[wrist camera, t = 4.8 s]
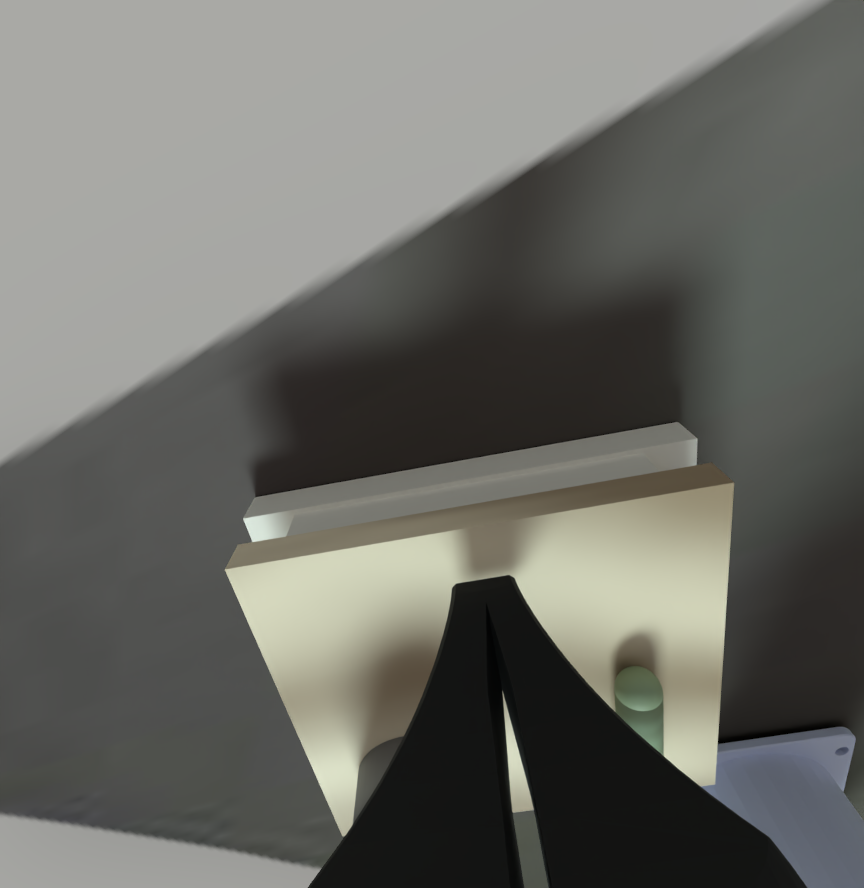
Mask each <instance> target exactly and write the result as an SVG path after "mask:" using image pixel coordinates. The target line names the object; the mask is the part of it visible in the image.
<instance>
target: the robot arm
mask: <svg viewBox="0 0 864 888" xmlns="http://www.w3.org/2000/svg"><path fill="white" fill-rule="evenodd" d="M502 690H503V691H502ZM503 694H504V698H505V702H506V705H507V709H508V713H509V717H510V720H511V724H512V728H513V732H514V735H515V739H516V743H517V747H518V750H519V754H520V758H521V761H522V765H523V769H524V773H525V776H526V780H527V784H528V788H529V791H530V795H531V800H532V804H533V808H534V813H535V817H536V823H537V828H538V833H539V839H540V844H541V849H542V855H543V860H544V865H545V871H546V876H547V881H548V887H549V888H864V820H863V819H862V818H861V816H860V815H859V813H858V812H857V811H856V809H855V808H854V806H853V805H852V804H851V802H850V801H849V799H848V798H847V797H846V795H845V794H844V793H843V792H844V788H845V783H846V779H847V775H848V771H849V766H850V762H851V758H852V754H853V750H854V745H855V741H856V738H855V736H854V735H853V734H852V733H851V731H850V730H849V729H848V728H845V727H833V728H826V729H819V730H812V731H805V732H798V733H791V734H784V735H777V736H770V737H763V738H756V739H749V740H742V741H735V742H728V743H721V744H718V747H717V763H716V779H715V785H708V786H699V785H698V784H697V783H696V782H694V781H693V780H692V779H691V778H689V777H688V776H687V775H686V774H684V773H683V772H682V771H680V770H679V769H678V768H677V767H676V766H675V765H673V764H672V763H671V762H670V761H669V760H668V759H666V758H665V757H664V756H663V755H662V754H661V753H660V752H658V751H657V750H656V749H655V748H654V747H653V746H652V745H650V744H649V743H648V742H647V741H646V740H645V739H644V738H642V737H641V736H640V735H639V734H638V733H637V732H636V731H634V730H633V729H632V728H631V727H630V726H629V725H628V724H627V723H626V722H625V721H624V720H623V719H622V718H621V717H620V716H619V715H618V714H617V713H616V712H615V711H614V710H613V709H612V708H611V707H610V706H609V705H608V704H607V703H606V702H605V701H604V700H603V699H602V698H601V697H600V696H599V695H598V694H597V693H596V692H595V691H594V689H593V688H592V687H591V686H590V685H589V684H588V683H587V682H586V681H585V679H584V678H583V677H582V676H581V675H580V674H579V673H578V671H577V670H576V669H575V668H574V667H573V665H572V664H571V663H570V662H569V661H568V660H567V658H566V657H565V656H564V655H563V653H562V652H561V651H560V649H559V648H558V647H557V646H556V644H555V643H554V642H553V640H552V639H551V637H550V636H549V635H548V633H547V632H546V631H545V629H544V628H543V627H542V625H541V624H540V622H539V621H538V619H537V618H536V616H535V615H534V613H533V612H532V610H531V609H530V607H529V605H528V604H527V602H526V600H525V599H524V597H523V595H522V593H521V591H520V589H519V587H518V585H517V583H516V580H515V578H513V577H512V576H510V575H505V576H499V577H493V578H487V579H481V580H475V581H469V582H463V583H457V584H455V585H454V586H453V588H452V593H451V601H450V607H449V612H448V617H447V621H446V625H445V629H444V633H443V636H442V640H441V643H440V646H439V650H438V653H437V656H436V659H435V662H434V665H433V668H432V671H431V673H430V676H429V679H428V681H427V684H426V687H425V689H424V692H423V695H422V697H421V699H420V702H419V704H418V707H417V709H416V711H415V713H414V716H413V718H412V720H411V722H410V724H409V726H408V729H407V731H406V733H405V735H404V737H403V739H402V741H401V743H400V745H399V747H398V748H397V750H396V752H395V754H394V756H393V758H392V760H391V762H390V764H389V766H388V767H387V769H386V771H385V773H384V775H383V776H382V778H381V780H380V782H379V783H378V785H377V787H376V788H375V790H374V792H373V793H372V795H371V796H370V798H369V799H368V801H367V803H366V804H365V806H364V807H363V809H362V811H361V812H360V814H359V815H358V817H357V818H356V820H355V822H354V823H353V825H352V826H351V828H350V829H349V831H348V832H347V834H346V835H345V837H344V838H343V840H342V841H341V843H340V844H339V846H338V847H337V848H336V850H335V851H334V852H333V854H332V855H331V857H330V858H329V859H328V861H327V862H326V863H325V865H324V866H323V867H322V869H321V870H320V872H319V873H318V874H317V876H316V877H315V879H314V880H313V881H312V883H311V884H310V885H309V887H308V888H524V884H523V877H522V871H521V865H520V858H519V852H518V846H517V839H516V833H515V826H514V820H513V812H512V803H511V793H510V781H509V768H508V755H507V742H506V729H505V716H504V704H503Z"/></svg>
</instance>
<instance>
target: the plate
mask: <svg viewBox="0 0 864 888" xmlns="http://www.w3.org/2000/svg"><path fill="white" fill-rule="evenodd" d="M733 493H734V482H733V481H732V480H731V479H730V478H728V477H727V476H726V475H725V474H724V473H723V472H722V471H721V470H719V469H718V468H717V467H716V466H715V465H714V464H713V463H706V464H701V465H695V466H689V467H683V468H678V469H672V470H666V471H660V472H655V473H649V474H643V475H637V476H631V477H626V478H620V479H614V480H608V481H603V482H597V483H591V484H585V485H580V486H574V487H568V488H562V489H557V490H551V491H545V492H539V493H533V494H528V495H522V496H516V497H510V498H505V499H499V500H493V501H487V502H482V503H476V504H470V505H464V506H459V507H453V508H447V509H441V510H436V511H430V512H424V513H418V514H412V515H407V516H401V517H395V518H389V519H384V520H378V521H372V522H366V523H361V524H355V525H349V526H343V527H338V528H332V529H326V530H320V531H314V532H309V533H303V534H297V535H291V536H286V537H280V538H274V539H268V540H263V541H257V542H251V543H245V544H240V545H238V546H237V548H236V549H235V551H234V553H233V555H232V557H231V559H230V561H229V563H228V565H227V566H226V568H225V571H226V573H227V576H228V578H229V580H230V582H231V585H232V587H233V589H234V591H235V594H236V596H237V598H238V600H239V603H240V605H241V607H242V610H243V612H244V614H245V616H246V619H247V621H248V623H249V625H250V628H251V630H252V632H253V634H254V637H255V639H256V641H257V643H258V646H259V648H260V650H261V653H262V655H263V657H264V659H265V662H266V664H267V666H268V668H269V671H270V673H271V675H272V677H273V680H274V682H275V684H276V687H277V689H278V691H279V693H280V696H281V698H282V700H283V702H284V705H285V707H286V709H287V711H288V714H289V716H290V718H291V720H292V723H293V725H294V727H295V730H296V732H297V734H298V736H299V739H300V741H301V743H302V745H303V748H304V750H305V752H306V754H307V757H308V759H309V761H310V763H311V766H312V768H313V770H314V773H315V775H316V777H317V779H318V782H319V784H320V786H321V788H322V791H323V793H324V795H325V797H326V800H327V802H328V804H329V807H330V809H331V811H332V813H333V816H334V818H335V820H336V822H337V825H338V827H339V829H340V831H341V834H342V836H345V835H346V834H347V832H348V831H349V829H350V828H351V826H352V825H353V823H354V822H355V820H356V818H357V817H358V815H359V814H360V812H361V811H362V809H363V807H364V806H365V804H366V803H367V801H368V799H369V798H370V796H371V795H372V793H373V792H374V790H375V788H376V787H377V785H378V783H379V782H380V780H381V778H382V776H383V775H384V773H385V771H386V769H387V767H388V766H389V764H390V762H391V760H392V758H393V756H394V754H395V752H396V750H397V748H398V747H399V745H400V743H401V741H402V739H403V737H404V735H405V733H406V731H407V729H408V726H409V724H410V722H411V720H412V718H413V716H414V713H415V711H416V709H417V707H418V704H419V702H420V699H421V697H422V695H423V692H424V689H425V687H426V684H427V681H428V679H429V676H430V673H431V671H432V668H433V665H434V662H435V659H436V656H437V653H438V650H439V646H440V643H441V640H442V636H443V633H444V629H445V625H446V621H447V617H448V612H449V607H450V601H451V593H452V588H453V586H454V585H455V584H457V583H463V582H469V581H475V580H481V579H487V578H493V577H499V576H505V575H510V576H512V577H513V578H515V580H516V583H517V585H518V587H519V589H520V591H521V593H522V595H523V597H524V599H525V600H526V602H527V604H528V605H529V607H530V609H531V610H532V612H533V613H534V615H535V616H536V618H537V619H538V621H539V622H540V624H541V625H542V627H543V628H544V629H545V631H546V632H547V633H548V635H549V636H550V637H551V639H552V640H553V642H554V643H555V644H556V646H557V647H558V648H559V649H560V651H561V652H562V653H563V655H564V656H565V657H566V658H567V660H568V661H569V662H570V663H571V664H572V665H573V667H574V668H575V669H576V670H577V671H578V673H579V674H580V675H581V676H582V677H583V678H584V679H585V681H586V682H587V683H588V684H589V685H590V686H591V687H592V688H593V689H594V691H595V692H596V693H597V694H598V695H599V696H600V697H601V698H602V699H603V700H604V701H605V702H606V703H607V704H608V705H609V706H610V707H611V708H612V709H613V710H614V711H615V712H616V713H617V714H618V715H619V716H620V717H621V718H622V719H623V720H624V721H625V722H626V723H627V724H628V725H629V726H630V727H631V728H632V729H633V730H634V731H636V732H637V733H638V734H639V735H640V736H641V737H642V738H644V739H645V740H646V741H647V742H648V743H649V744H650V745H652V746H653V747H654V748H655V749H656V750H657V751H658V752H660V753H661V754H662V755H663V756H664V757H665V758H666V759H668V760H669V761H670V762H671V763H672V764H673V765H675V766H676V767H677V768H678V769H679V770H680V771H682V772H683V773H684V774H686V775H687V776H688V777H689V778H691V779H692V780H693V781H694V782H696V783H697V784H698V785H699V786H708V785H715V779H716V763H717V747H718V731H719V715H720V699H721V683H722V667H723V651H724V636H725V620H726V604H727V588H728V572H729V556H730V540H731V524H732V508H733ZM502 691H503V690H502ZM503 704H504V716H505V729H506V742H507V755H508V768H509V781H510V793H511V803H512V812H513V813H514V812H521V811H528V810H534V808H533V804H532V800H531V795H530V791H529V788H528V784H527V780H526V776H525V773H524V769H523V765H522V761H521V758H520V754H519V750H518V747H517V743H516V739H515V735H514V732H513V728H512V724H511V720H510V717H509V713H508V709H507V705H506V702H505V698H504V694H503Z"/></svg>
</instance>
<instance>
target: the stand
mask: <svg viewBox="0 0 864 888" xmlns="http://www.w3.org/2000/svg"><path fill="white" fill-rule="evenodd" d="M695 465H697V438H696V437H695V436H694V435H693V434H692V433H690V432H689V431H688V430H687V429H686V428H685V427H683V426H682V425H681V424H680V423H679V422H674V423H668V424H663V425H657V426H652V427H646V428H640V429H635V430H629V431H624V432H618V433H612V434H607V435H601V436H596V437H590V438H584V439H579V440H573V441H568V442H562V443H556V444H551V445H545V446H540V447H534V448H528V449H523V450H517V451H512V452H506V453H500V454H495V455H489V456H484V457H478V458H472V459H467V460H461V461H456V462H450V463H444V464H439V465H433V466H428V467H422V468H416V469H411V470H405V471H400V472H394V473H388V474H383V475H377V476H372V477H366V478H360V479H355V480H349V481H344V482H338V483H332V484H327V485H321V486H316V487H310V488H304V489H299V490H293V491H288V492H282V493H276V494H271V495H265V496H260V497H255V498H254V500H253V502H252V504H251V505H250V507H249V509H248V511H247V513H246V514H245V516H244V518H243V519H244V522H245V524H246V527H247V529H248V532H249V534H250V537H251V539H252V542H257V541H263V540H268V539H274V538H280V537H286V536H291V535H297V534H303V533H309V532H314V531H320V530H326V529H332V528H338V527H343V526H349V525H355V524H361V523H366V522H372V521H378V520H384V519H389V518H395V517H401V516H407V515H412V514H418V513H424V512H430V511H436V510H441V509H447V508H453V507H459V506H464V505H470V504H476V503H482V502H487V501H493V500H499V499H505V498H510V497H516V496H522V495H528V494H533V493H539V492H545V491H551V490H557V489H562V488H568V487H574V486H580V485H585V484H591V483H597V482H603V481H608V480H614V479H620V478H626V477H631V476H637V475H643V474H649V473H655V472H660V471H666V470H672V469H678V468H683V467H689V466H695Z"/></svg>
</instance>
